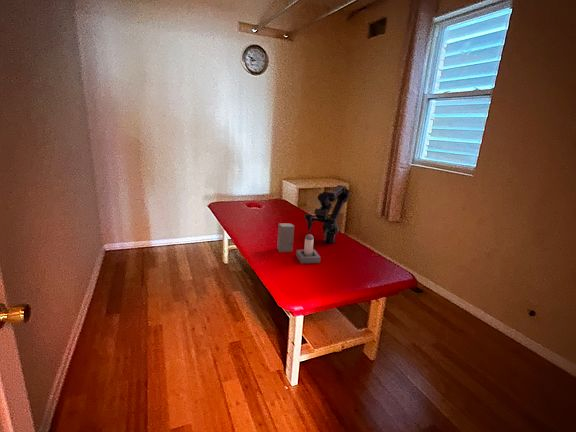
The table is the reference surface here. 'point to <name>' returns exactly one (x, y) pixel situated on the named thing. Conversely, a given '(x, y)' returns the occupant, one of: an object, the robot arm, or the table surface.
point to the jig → (308, 257)
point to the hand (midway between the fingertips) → (315, 233)
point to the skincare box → (285, 237)
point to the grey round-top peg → (308, 245)
